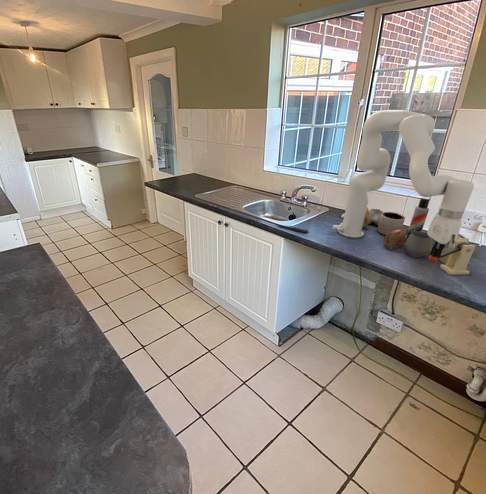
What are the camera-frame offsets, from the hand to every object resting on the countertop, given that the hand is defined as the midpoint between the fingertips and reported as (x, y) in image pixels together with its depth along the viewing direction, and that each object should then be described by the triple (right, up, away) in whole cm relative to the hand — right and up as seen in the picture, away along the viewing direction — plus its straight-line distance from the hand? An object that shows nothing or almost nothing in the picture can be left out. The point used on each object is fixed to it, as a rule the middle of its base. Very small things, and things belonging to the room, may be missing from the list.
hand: (434, 255), depth 123 cm
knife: (-46, +14, +43) cm, 64 cm away
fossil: (+2, +19, +58) cm, 61 cm away
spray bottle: (+14, +9, +34) cm, 38 cm away
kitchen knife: (-8, +23, +61) cm, 66 cm away
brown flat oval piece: (-3, +3, +23) cm, 24 cm away
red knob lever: (+6, 0, 0) cm, 6 cm away
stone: (-8, +22, +46) cm, 51 cm away
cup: (+2, 0, +16) cm, 16 cm away
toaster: (+13, -1, +14) cm, 19 cm away
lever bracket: (+11, -6, +4) cm, 13 cm away
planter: (+3, +10, +37) cm, 39 cm away
